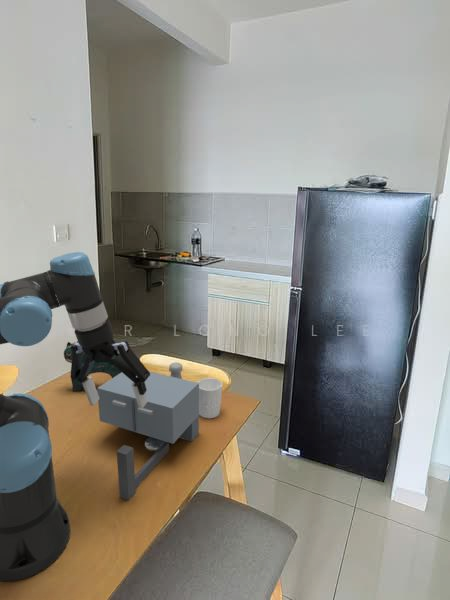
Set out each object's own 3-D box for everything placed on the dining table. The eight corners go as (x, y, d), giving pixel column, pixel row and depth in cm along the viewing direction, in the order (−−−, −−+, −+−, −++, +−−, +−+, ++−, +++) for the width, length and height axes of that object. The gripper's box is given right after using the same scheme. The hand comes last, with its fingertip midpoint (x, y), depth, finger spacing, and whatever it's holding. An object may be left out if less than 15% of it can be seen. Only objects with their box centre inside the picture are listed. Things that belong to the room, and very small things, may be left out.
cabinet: (171, 466, 94) (170, 410, 90) (99, 442, 103) (94, 389, 99) (198, 433, 108) (198, 383, 103) (132, 414, 116) (129, 366, 112)
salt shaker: (188, 398, 126) (188, 363, 122) (177, 406, 121) (177, 369, 117) (175, 393, 129) (174, 358, 125) (163, 401, 124) (162, 365, 120)
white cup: (226, 412, 118) (227, 383, 116) (208, 422, 113) (209, 393, 110) (209, 403, 123) (209, 375, 121) (191, 412, 118) (191, 383, 115)
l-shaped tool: (128, 500, 84) (126, 454, 80) (119, 496, 85) (116, 451, 81) (171, 451, 100) (170, 411, 97) (163, 448, 101) (162, 409, 98)
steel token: (159, 454, 99) (159, 451, 99) (140, 448, 101) (140, 445, 101) (171, 441, 104) (171, 438, 104) (152, 435, 107) (152, 432, 106)
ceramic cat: (66, 393, 128) (60, 338, 122) (73, 384, 134) (68, 331, 128) (125, 394, 128) (122, 339, 122) (129, 384, 134) (127, 332, 129)
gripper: (149, 314, 80) (172, 395, 88) (57, 317, 89) (85, 391, 97) (131, 330, 74) (158, 417, 82) (34, 332, 82) (66, 411, 90)
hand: (118, 403), depth 89 cm, fingers open, 13 cm apart
